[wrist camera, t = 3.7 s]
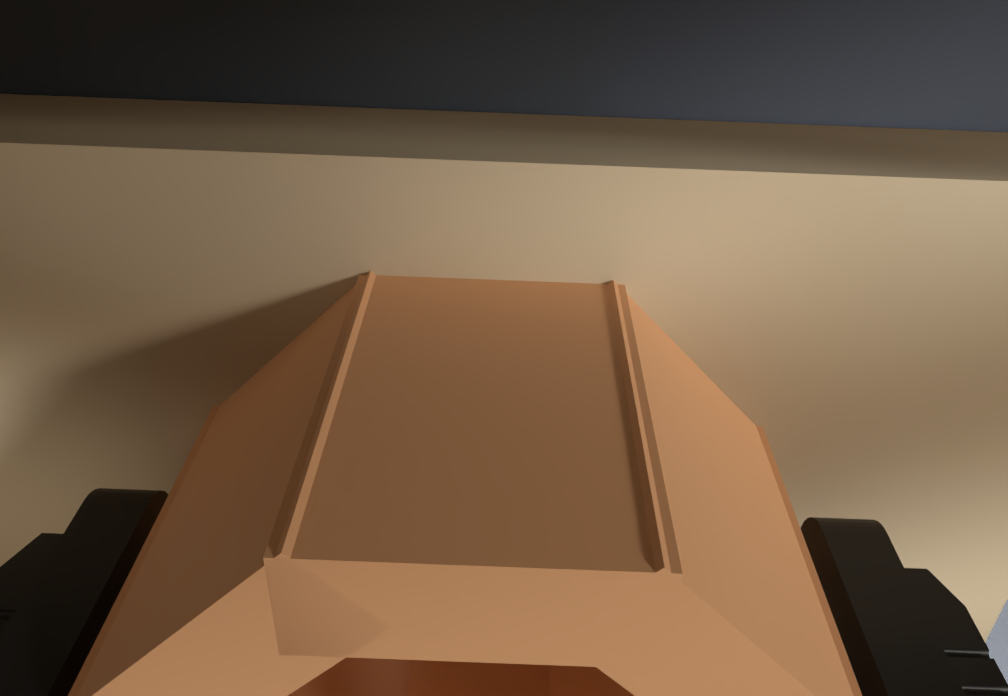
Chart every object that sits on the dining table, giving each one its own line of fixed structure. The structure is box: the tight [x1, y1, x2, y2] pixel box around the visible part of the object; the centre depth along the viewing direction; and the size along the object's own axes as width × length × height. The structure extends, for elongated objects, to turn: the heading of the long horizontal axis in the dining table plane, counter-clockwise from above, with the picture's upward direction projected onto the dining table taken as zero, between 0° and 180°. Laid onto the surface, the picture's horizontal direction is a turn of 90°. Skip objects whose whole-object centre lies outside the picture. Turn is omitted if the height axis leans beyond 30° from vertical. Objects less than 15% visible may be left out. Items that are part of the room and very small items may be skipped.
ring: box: [68, 271, 862, 696], centre depth 9 cm, size 6×6×4 cm
